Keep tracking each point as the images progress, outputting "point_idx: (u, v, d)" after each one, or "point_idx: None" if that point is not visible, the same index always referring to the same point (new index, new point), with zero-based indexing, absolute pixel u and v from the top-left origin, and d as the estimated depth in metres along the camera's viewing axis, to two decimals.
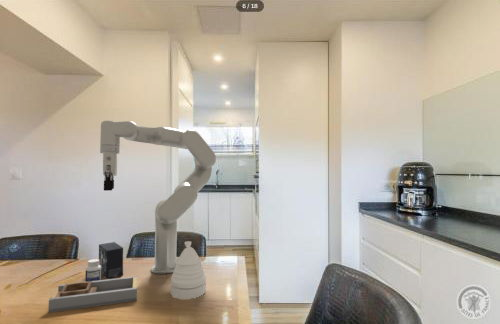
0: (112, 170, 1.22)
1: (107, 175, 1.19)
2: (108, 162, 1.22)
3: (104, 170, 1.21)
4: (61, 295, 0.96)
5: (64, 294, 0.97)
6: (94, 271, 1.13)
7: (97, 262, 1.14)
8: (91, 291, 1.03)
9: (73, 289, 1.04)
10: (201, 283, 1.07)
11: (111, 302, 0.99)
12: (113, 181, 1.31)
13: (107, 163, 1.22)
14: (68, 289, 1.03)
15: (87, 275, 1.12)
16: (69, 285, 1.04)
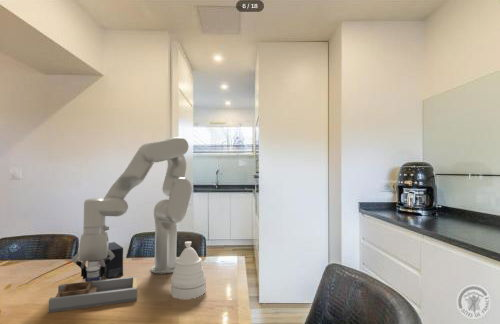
0: None
1: None
2: None
3: (107, 253, 1.15)
4: (61, 295, 0.96)
5: (64, 294, 0.97)
6: (94, 271, 1.13)
7: (97, 262, 1.14)
8: (91, 291, 1.03)
9: (73, 289, 1.04)
10: (201, 283, 1.07)
11: (111, 302, 0.99)
12: None
13: (107, 245, 1.16)
14: (68, 289, 1.03)
15: (87, 275, 1.12)
16: (69, 285, 1.04)
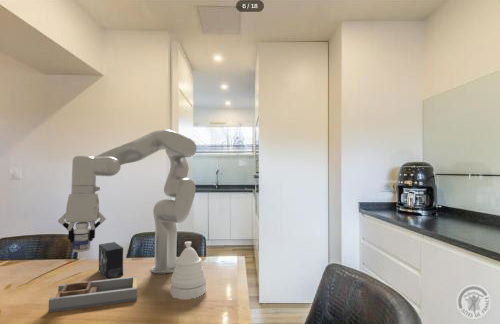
0: (97, 216, 1.09)
1: (100, 223, 1.07)
2: (98, 205, 1.07)
3: (97, 215, 1.06)
4: (61, 295, 0.96)
5: (64, 294, 0.97)
6: (82, 233, 1.03)
7: (86, 224, 1.05)
8: (91, 291, 1.03)
9: (73, 289, 1.04)
10: (201, 283, 1.07)
11: (111, 302, 0.99)
12: None
13: (98, 206, 1.07)
14: (68, 289, 1.03)
15: (75, 238, 1.03)
16: (69, 285, 1.04)
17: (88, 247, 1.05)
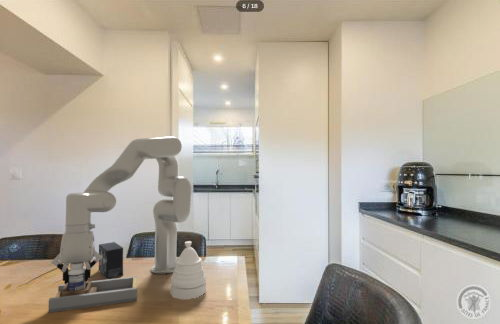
0: (93, 255, 1.05)
1: (96, 262, 1.04)
2: (93, 243, 1.04)
3: (92, 254, 1.02)
4: (61, 295, 0.96)
5: (64, 294, 0.97)
6: (77, 274, 0.99)
7: (81, 264, 1.01)
8: (91, 291, 1.03)
9: None
10: (201, 283, 1.07)
11: (111, 302, 0.99)
12: None
13: (93, 245, 1.03)
14: None
15: (69, 279, 0.99)
16: None
17: (83, 288, 1.01)
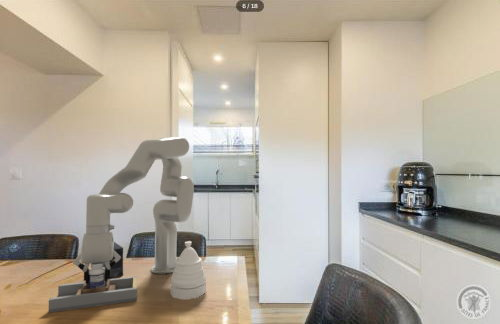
0: None
1: None
2: (113, 244, 1.06)
3: (112, 254, 1.04)
4: (82, 292, 0.98)
5: (85, 291, 0.99)
6: (98, 274, 1.02)
7: (101, 265, 1.03)
8: (110, 289, 1.05)
9: None
10: (201, 283, 1.07)
11: (111, 302, 0.99)
12: None
13: (113, 245, 1.05)
14: (87, 287, 1.05)
15: (90, 279, 1.01)
16: None
17: None
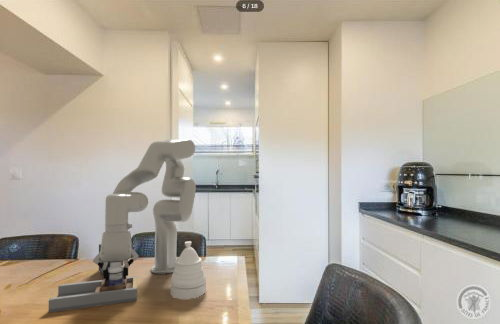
0: None
1: (134, 260, 1.08)
2: None
3: (130, 253, 1.06)
4: (101, 290, 1.00)
5: (104, 289, 1.01)
6: (117, 272, 1.04)
7: (120, 263, 1.05)
8: (127, 287, 1.07)
9: None
10: (201, 283, 1.07)
11: (111, 302, 0.99)
12: None
13: None
14: (105, 285, 1.08)
15: (110, 277, 1.03)
16: (106, 281, 1.08)
17: None
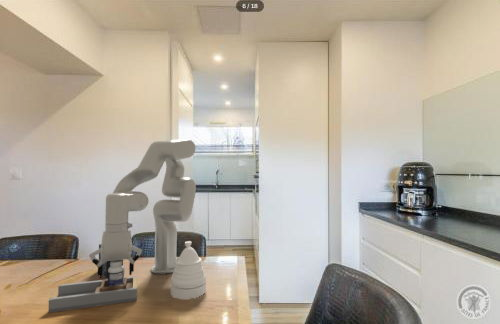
0: None
1: (139, 255, 1.09)
2: (131, 242, 1.08)
3: (131, 252, 1.06)
4: (101, 290, 1.00)
5: (104, 289, 1.01)
6: (117, 272, 1.04)
7: (120, 263, 1.05)
8: (127, 287, 1.07)
9: None
10: (201, 283, 1.07)
11: (111, 302, 0.99)
12: (102, 266, 1.06)
13: (131, 243, 1.08)
14: (105, 285, 1.08)
15: (110, 277, 1.04)
16: (106, 281, 1.08)
17: None
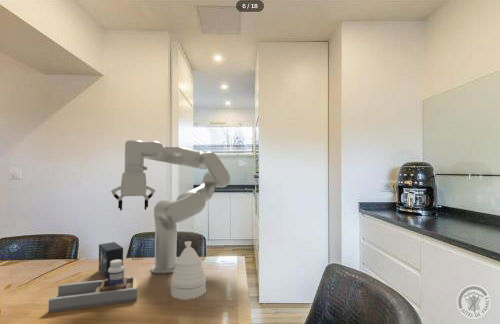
0: None
1: (152, 194, 1.28)
2: None
3: None
4: (101, 290, 1.00)
5: (104, 289, 1.01)
6: (117, 272, 1.04)
7: (120, 263, 1.05)
8: (127, 287, 1.07)
9: None
10: (201, 283, 1.07)
11: (111, 302, 0.99)
12: None
13: None
14: (105, 285, 1.08)
15: (110, 277, 1.04)
16: (106, 281, 1.08)
17: None
